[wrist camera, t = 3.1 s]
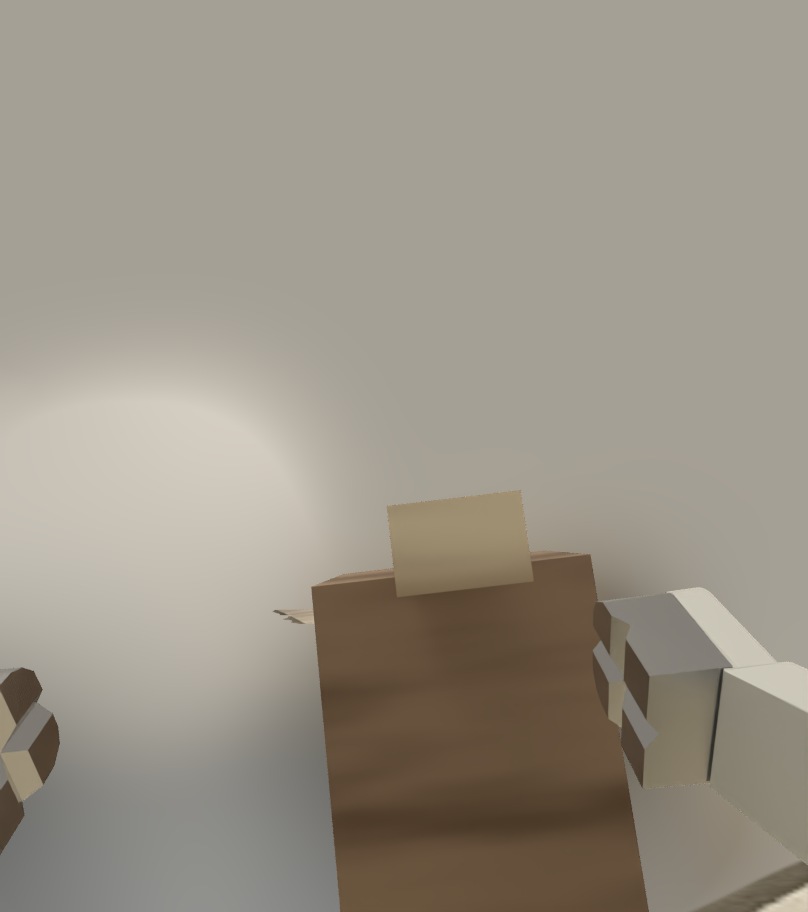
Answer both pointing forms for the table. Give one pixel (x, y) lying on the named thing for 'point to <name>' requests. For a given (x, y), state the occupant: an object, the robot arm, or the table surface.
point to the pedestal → (473, 747)
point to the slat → (459, 543)
